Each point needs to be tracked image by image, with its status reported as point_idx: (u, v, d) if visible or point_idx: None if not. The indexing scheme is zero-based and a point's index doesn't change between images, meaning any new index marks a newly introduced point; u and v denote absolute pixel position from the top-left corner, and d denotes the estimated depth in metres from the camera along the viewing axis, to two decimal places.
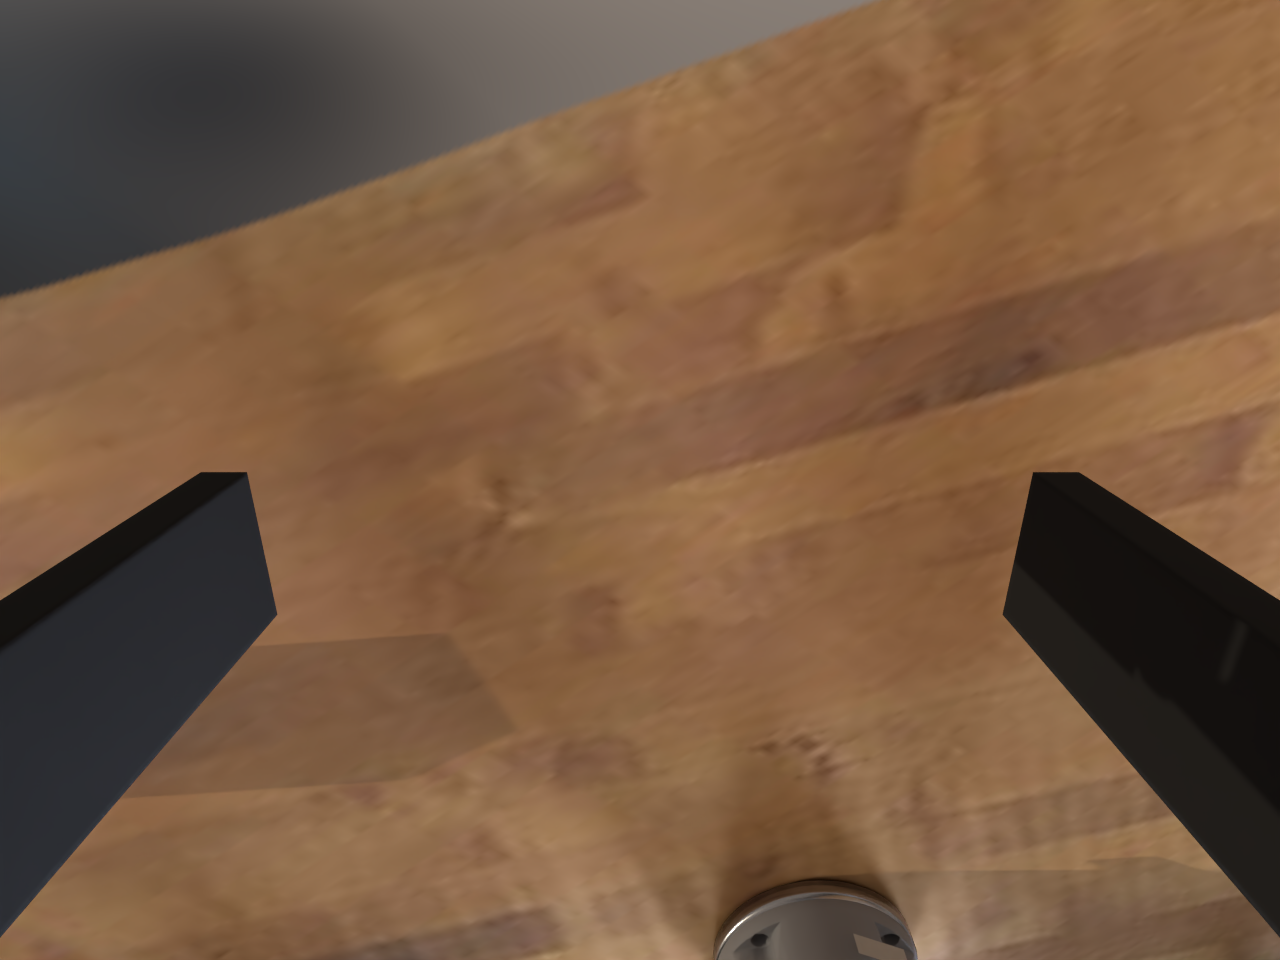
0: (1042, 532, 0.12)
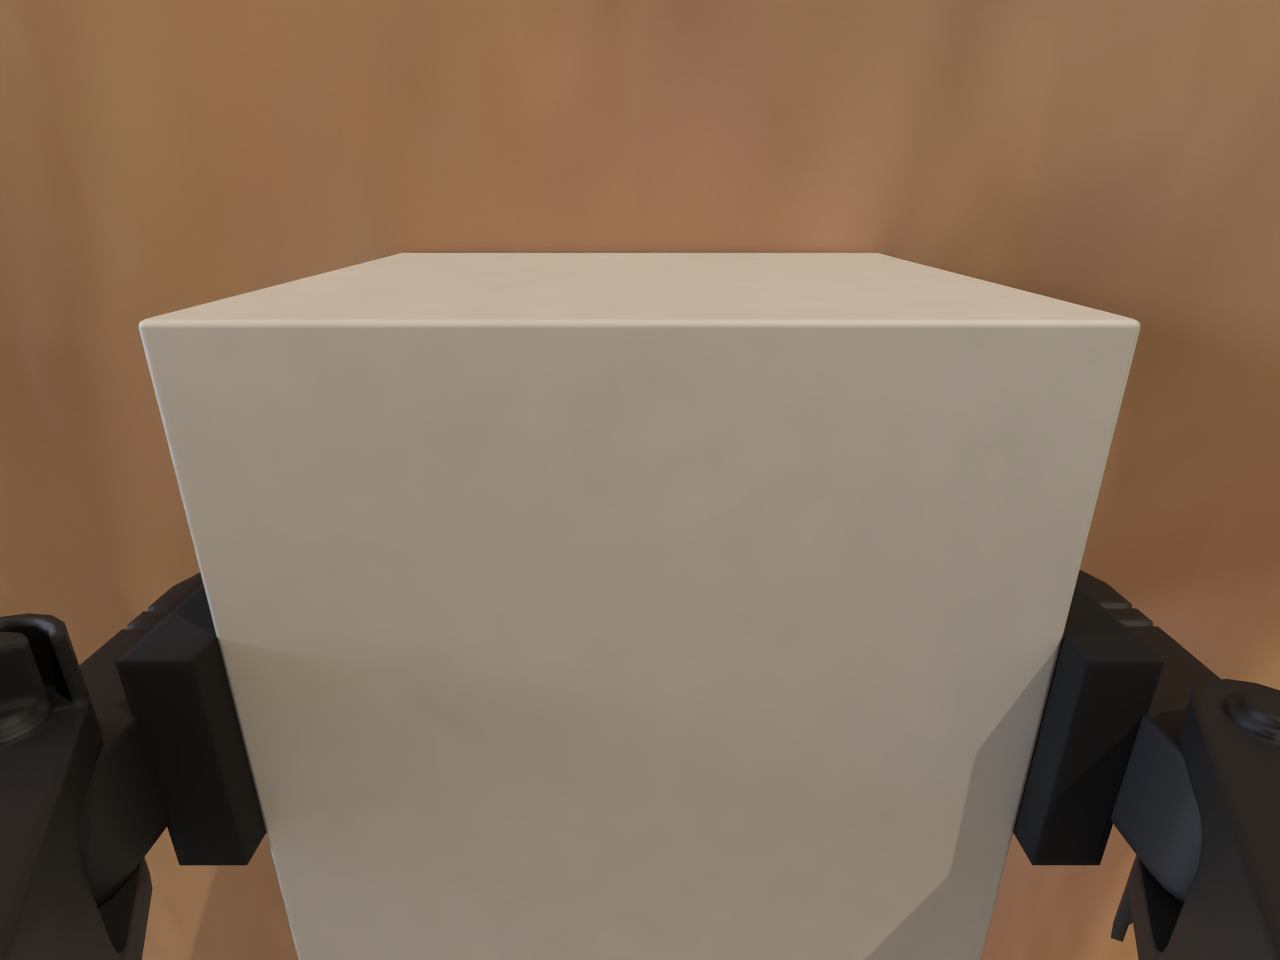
0: None
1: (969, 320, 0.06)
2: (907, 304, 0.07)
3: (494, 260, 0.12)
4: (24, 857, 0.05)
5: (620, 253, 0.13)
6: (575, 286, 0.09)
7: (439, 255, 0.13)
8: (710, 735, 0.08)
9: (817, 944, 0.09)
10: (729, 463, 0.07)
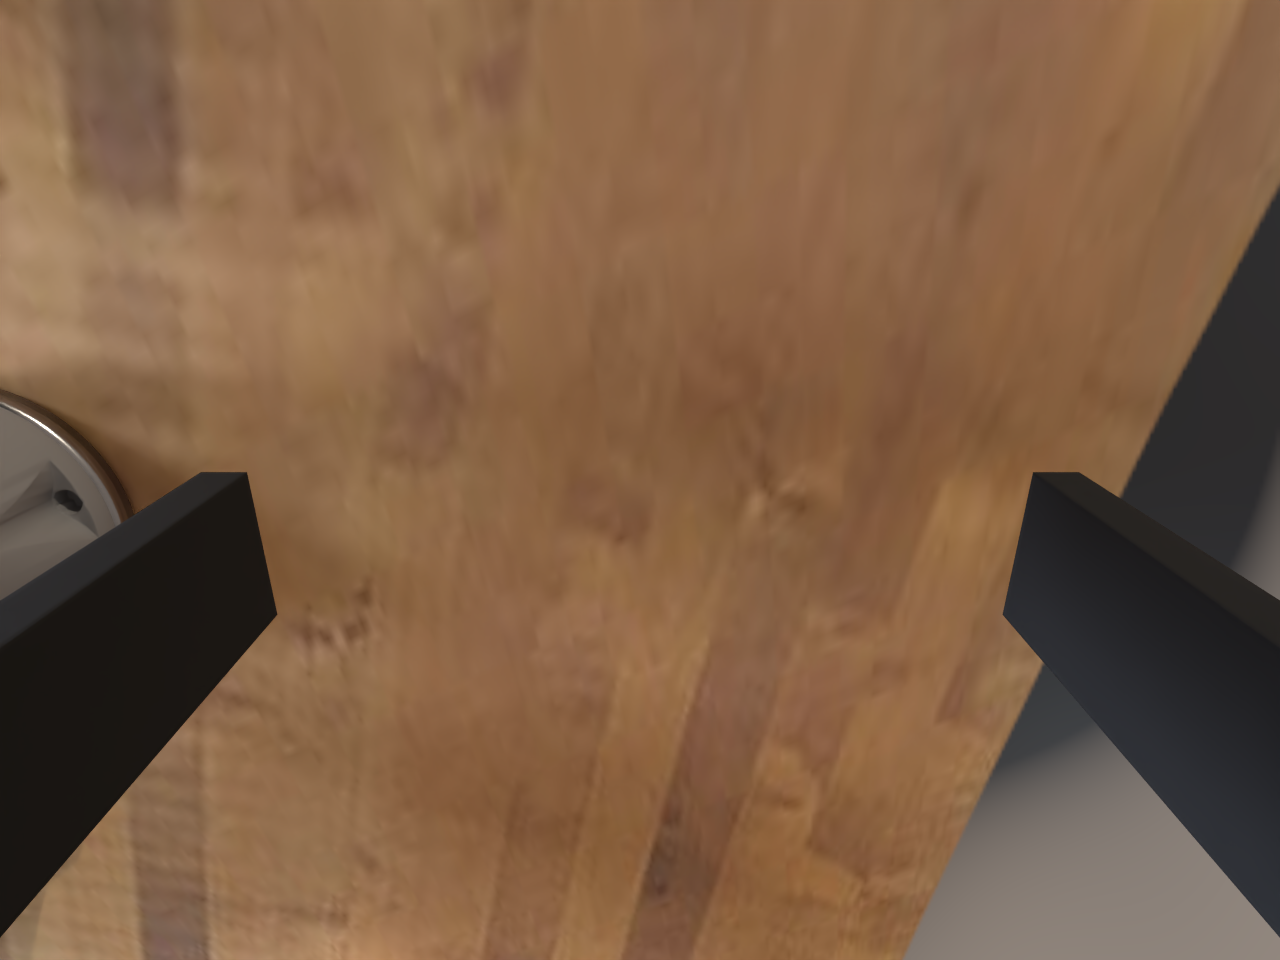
0: (1042, 532, 0.12)
1: None
2: None
3: None
4: None
5: None
6: None
7: None
8: None
9: None
10: None
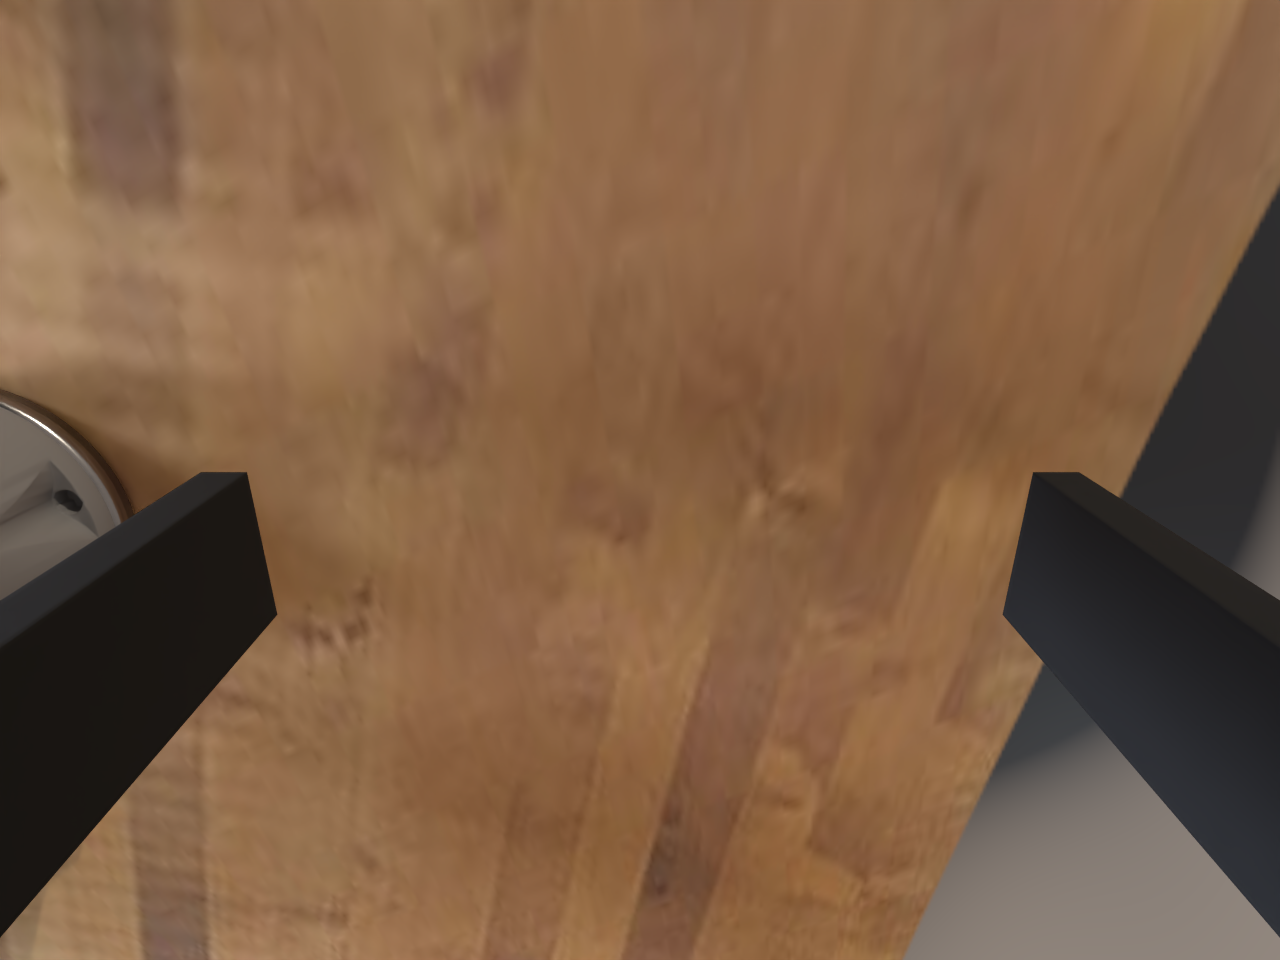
0: (1042, 532, 0.12)
1: None
2: None
3: None
4: None
5: None
6: None
7: None
8: None
9: None
10: None
